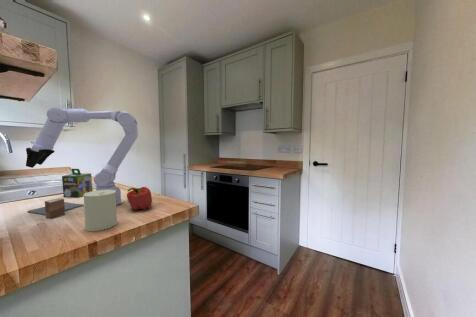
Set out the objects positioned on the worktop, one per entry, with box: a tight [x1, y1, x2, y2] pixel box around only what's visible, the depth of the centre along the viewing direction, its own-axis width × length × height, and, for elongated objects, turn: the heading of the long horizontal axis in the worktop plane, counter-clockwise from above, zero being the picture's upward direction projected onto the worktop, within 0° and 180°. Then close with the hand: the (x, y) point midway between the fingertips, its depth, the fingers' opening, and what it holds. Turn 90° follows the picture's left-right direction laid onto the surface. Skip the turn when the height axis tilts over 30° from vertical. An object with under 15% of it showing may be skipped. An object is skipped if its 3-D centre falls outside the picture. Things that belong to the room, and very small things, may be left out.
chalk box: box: [61, 168, 94, 198], centre depth 106 cm, size 9×9×15 cm
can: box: [82, 190, 118, 232], centre depth 67 cm, size 9×9×12 cm
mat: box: [26, 201, 84, 216], centre depth 84 cm, size 13×13×1 cm
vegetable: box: [126, 186, 153, 211], centre depth 84 cm, size 11×10×10 cm
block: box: [44, 197, 66, 220], centre depth 75 cm, size 3×4×6 cm, turn 163°
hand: (33, 165), depth 80 cm, fingers open, 7 cm apart
